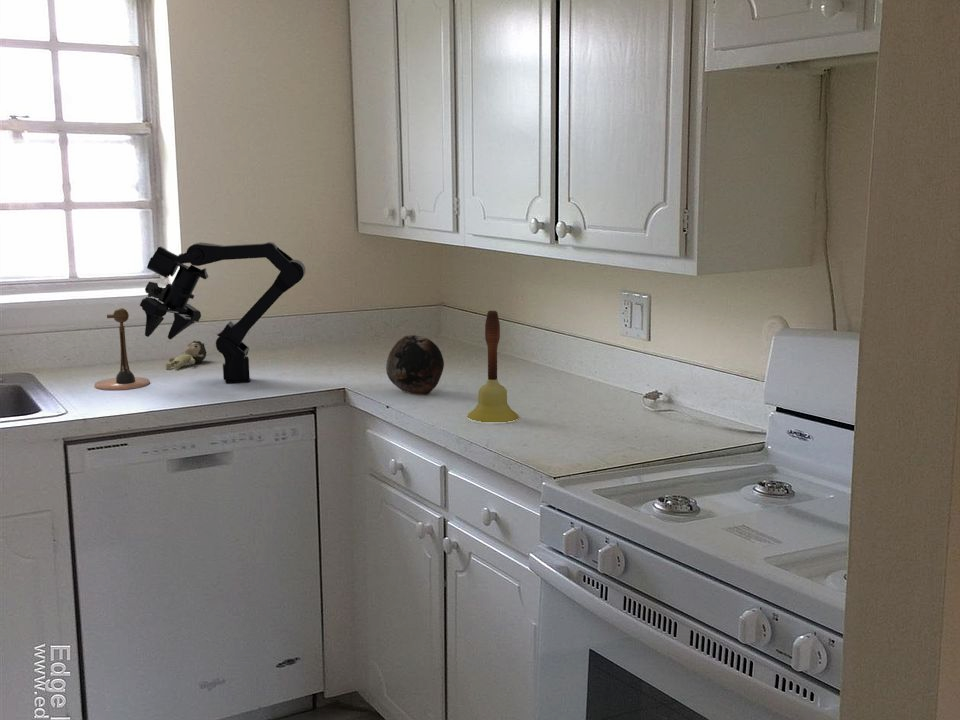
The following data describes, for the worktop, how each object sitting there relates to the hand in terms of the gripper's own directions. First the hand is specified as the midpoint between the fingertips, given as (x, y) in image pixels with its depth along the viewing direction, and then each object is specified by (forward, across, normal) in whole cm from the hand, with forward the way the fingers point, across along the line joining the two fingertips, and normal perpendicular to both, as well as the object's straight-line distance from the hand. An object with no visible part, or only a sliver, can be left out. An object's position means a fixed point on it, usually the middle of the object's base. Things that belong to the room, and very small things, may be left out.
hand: (157, 337), depth 277 cm
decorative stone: (-22, -17, +67) cm, 73 cm away
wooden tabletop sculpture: (+15, +3, -1) cm, 15 cm away
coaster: (+15, +3, -1) cm, 16 cm away
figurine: (+10, -24, -4) cm, 27 cm away
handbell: (-30, 0, +94) cm, 99 cm away
